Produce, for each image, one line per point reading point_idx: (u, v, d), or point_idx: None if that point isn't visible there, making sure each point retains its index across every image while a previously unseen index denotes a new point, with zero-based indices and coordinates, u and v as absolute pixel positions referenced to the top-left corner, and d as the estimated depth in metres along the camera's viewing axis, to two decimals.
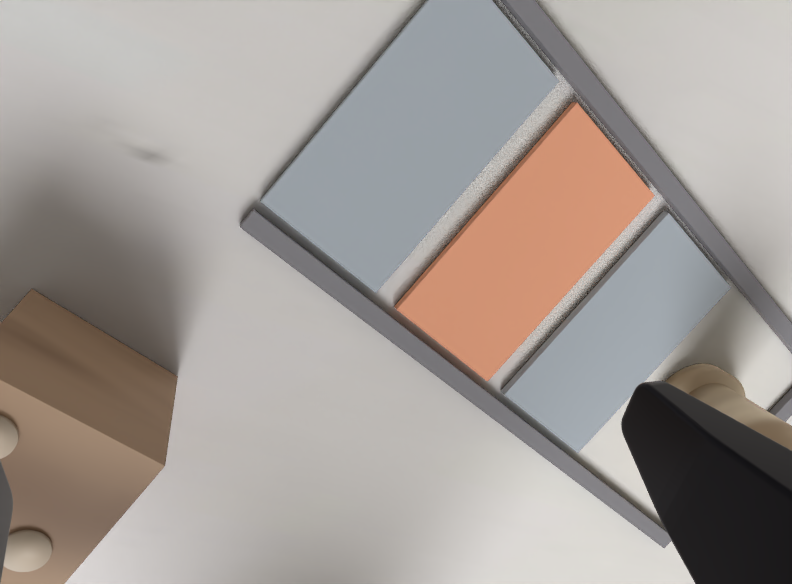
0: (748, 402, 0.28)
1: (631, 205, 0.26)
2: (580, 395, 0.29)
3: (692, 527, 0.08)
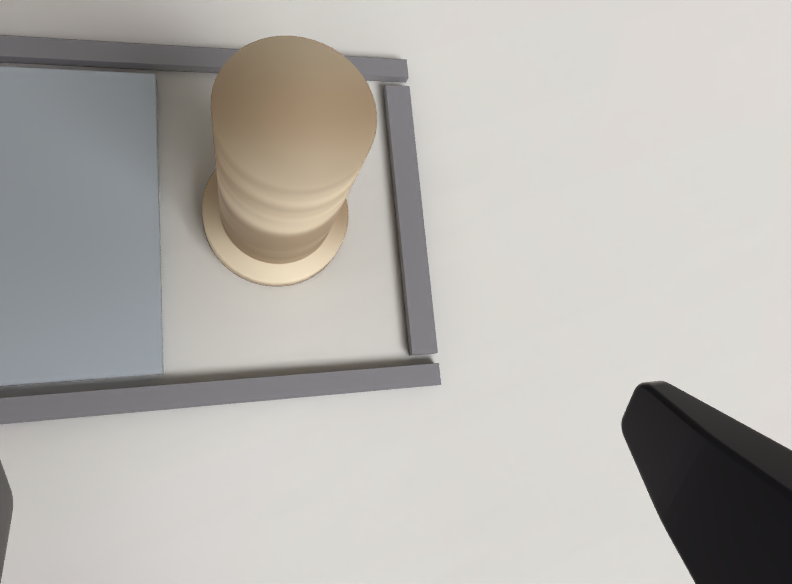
0: None
1: None
2: (82, 310, 0.20)
3: (692, 527, 0.08)
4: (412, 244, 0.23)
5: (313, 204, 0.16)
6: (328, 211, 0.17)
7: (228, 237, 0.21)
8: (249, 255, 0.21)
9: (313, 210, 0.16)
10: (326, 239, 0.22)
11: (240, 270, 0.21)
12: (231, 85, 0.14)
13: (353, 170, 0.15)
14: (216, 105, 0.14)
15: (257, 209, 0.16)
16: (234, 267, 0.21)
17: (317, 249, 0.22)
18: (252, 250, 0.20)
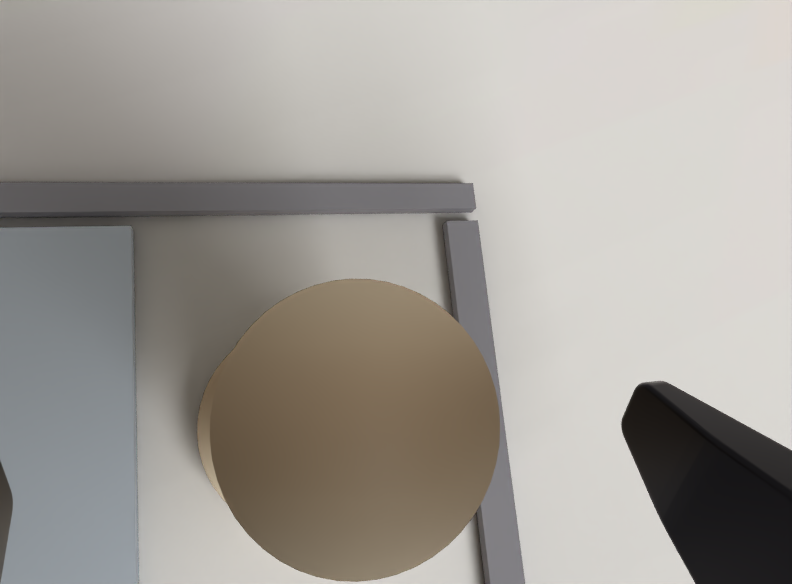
0: None
1: None
2: None
3: (692, 527, 0.08)
4: None
5: None
6: None
7: None
8: None
9: None
10: None
11: None
12: (247, 389, 0.08)
13: (464, 524, 0.08)
14: (220, 433, 0.08)
15: None
16: None
17: None
18: None
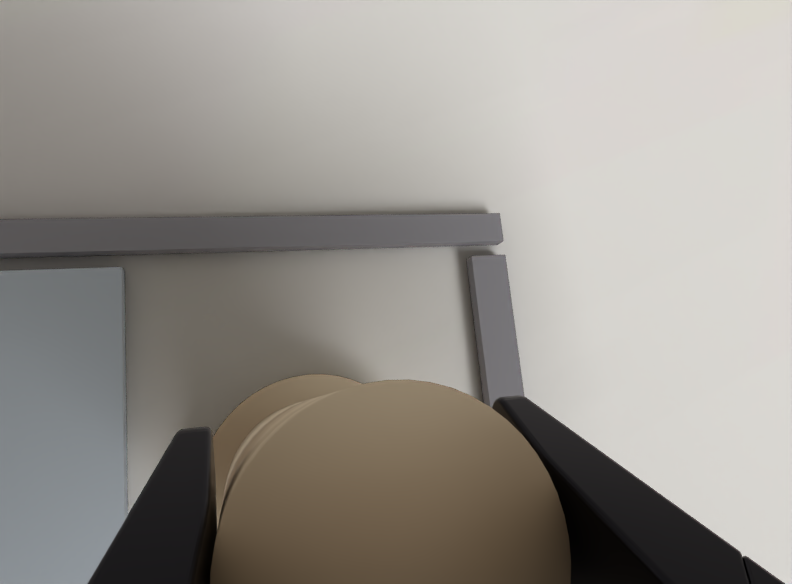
0: (272, 415, 0.12)
1: None
2: None
3: None
4: None
5: None
6: None
7: None
8: None
9: None
10: None
11: None
12: (257, 532, 0.06)
13: None
14: None
15: None
16: None
17: None
18: None
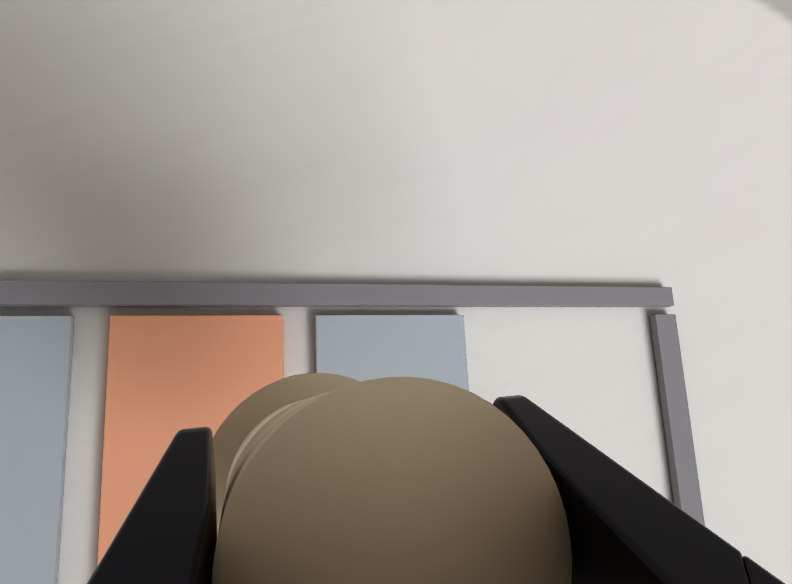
0: (273, 414, 0.12)
1: (266, 343, 0.22)
2: None
3: None
4: (686, 476, 0.25)
5: None
6: None
7: None
8: None
9: None
10: None
11: None
12: (259, 528, 0.06)
13: None
14: None
15: None
16: None
17: None
18: None
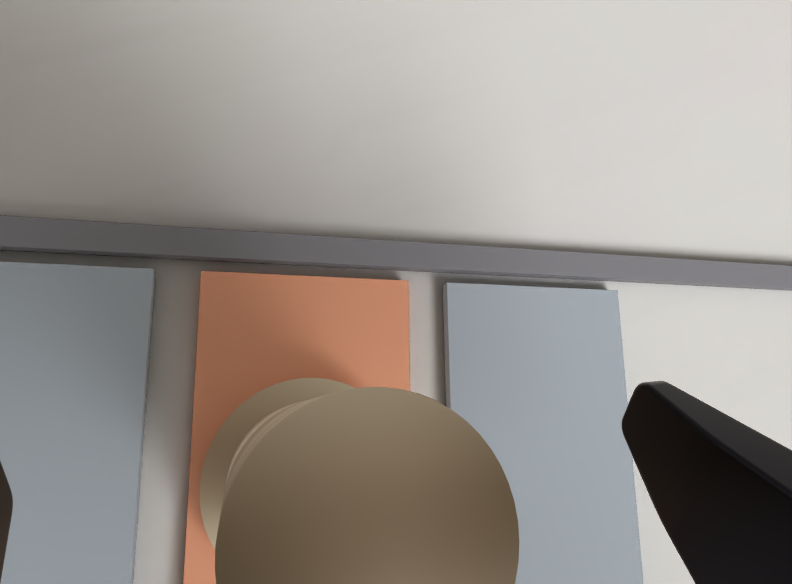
0: (269, 416, 0.13)
1: (389, 314, 0.17)
2: None
3: (692, 527, 0.08)
4: None
5: None
6: None
7: None
8: None
9: None
10: None
11: None
12: (254, 513, 0.07)
13: None
14: (225, 563, 0.07)
15: None
16: None
17: None
18: None
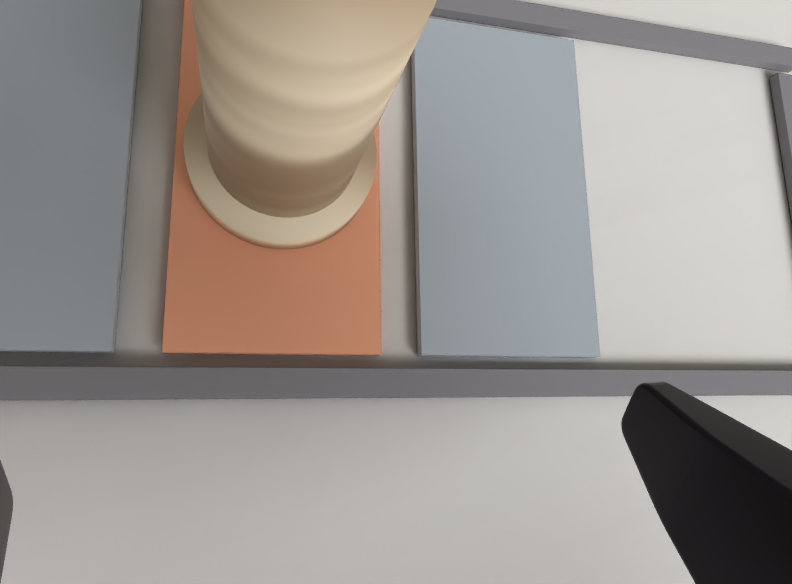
0: None
1: None
2: (524, 281, 0.19)
3: (692, 527, 0.08)
4: None
5: (344, 101, 0.10)
6: (362, 123, 0.12)
7: (219, 181, 0.16)
8: (247, 205, 0.16)
9: (342, 115, 0.11)
10: (349, 186, 0.17)
11: (235, 225, 0.16)
12: None
13: (409, 37, 0.09)
14: None
15: (258, 113, 0.11)
16: (227, 221, 0.16)
17: (337, 199, 0.16)
18: (251, 195, 0.15)
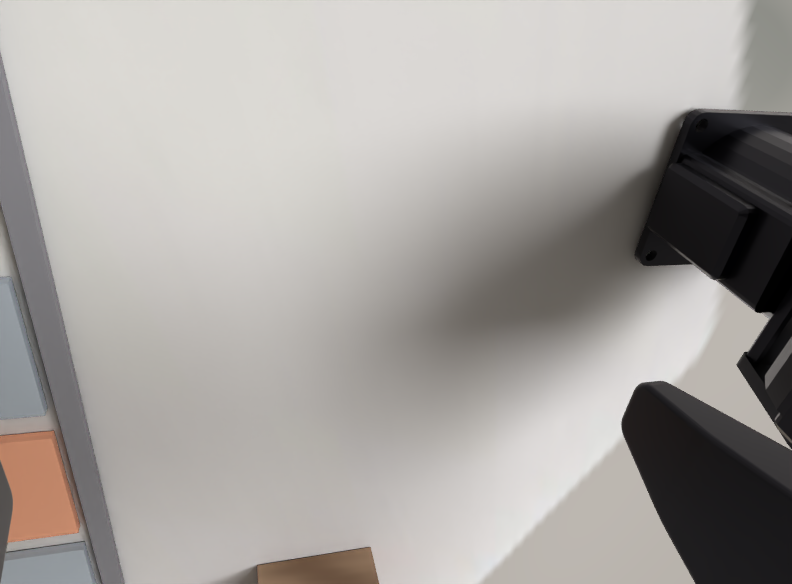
0: None
1: None
2: None
3: (692, 527, 0.08)
4: None
5: None
6: None
7: None
8: None
9: None
10: None
11: None
12: None
13: None
14: None
15: None
16: None
17: None
18: None
